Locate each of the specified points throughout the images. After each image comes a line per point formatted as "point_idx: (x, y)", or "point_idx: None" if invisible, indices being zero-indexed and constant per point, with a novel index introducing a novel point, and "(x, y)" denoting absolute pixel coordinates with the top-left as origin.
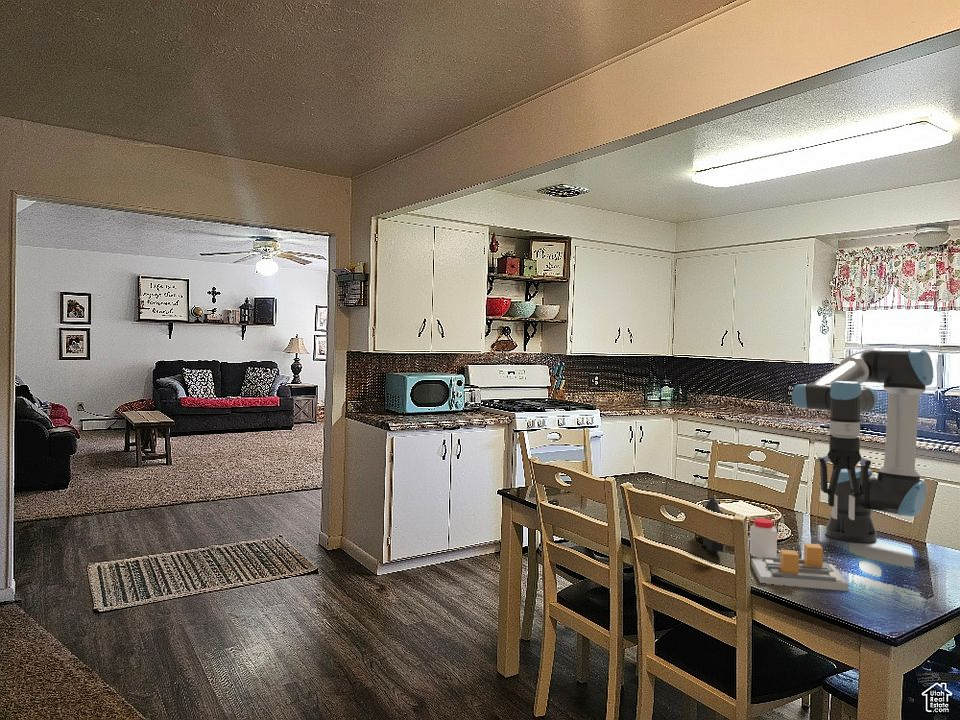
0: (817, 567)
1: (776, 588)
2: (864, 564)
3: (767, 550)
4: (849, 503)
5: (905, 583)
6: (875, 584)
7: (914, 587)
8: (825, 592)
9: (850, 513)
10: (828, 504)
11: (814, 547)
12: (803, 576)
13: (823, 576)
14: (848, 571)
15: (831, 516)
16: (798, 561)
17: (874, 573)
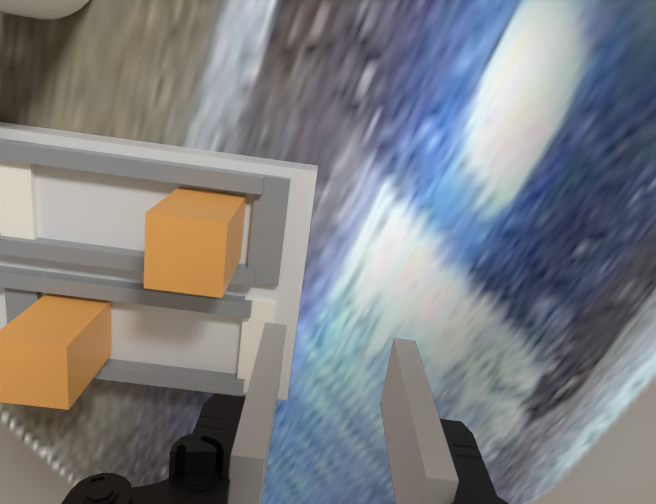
0: None
1: None
2: (528, 43)
3: (21, 14)
4: (407, 431)
5: (556, 286)
6: (426, 308)
7: (562, 324)
8: (200, 402)
9: (390, 407)
10: (210, 400)
11: (181, 284)
12: (121, 380)
13: (198, 383)
14: (393, 162)
15: (265, 322)
16: (81, 391)
17: (499, 177)
